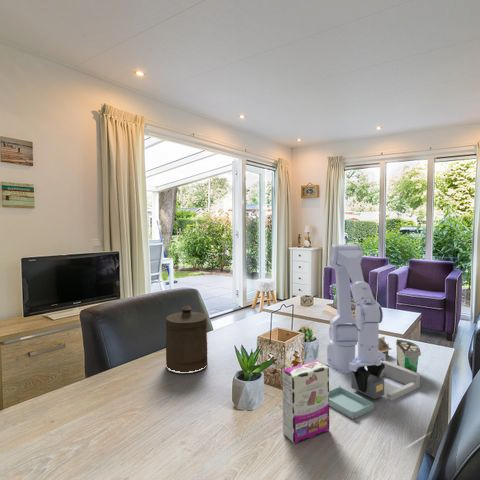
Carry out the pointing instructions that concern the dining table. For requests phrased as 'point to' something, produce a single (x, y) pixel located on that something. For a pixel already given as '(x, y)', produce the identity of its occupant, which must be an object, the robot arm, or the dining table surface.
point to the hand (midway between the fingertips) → (367, 388)
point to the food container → (407, 354)
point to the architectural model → (383, 346)
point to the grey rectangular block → (371, 386)
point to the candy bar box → (305, 401)
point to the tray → (349, 402)
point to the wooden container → (186, 340)
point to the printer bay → (399, 375)
